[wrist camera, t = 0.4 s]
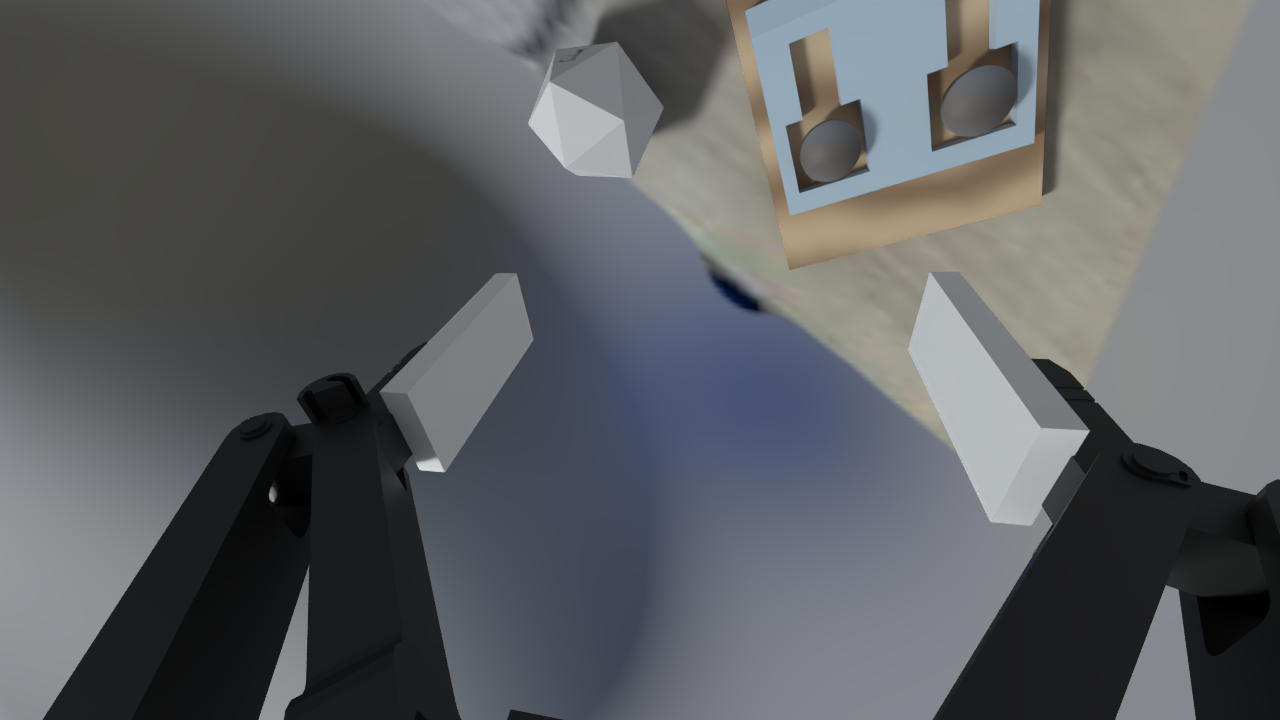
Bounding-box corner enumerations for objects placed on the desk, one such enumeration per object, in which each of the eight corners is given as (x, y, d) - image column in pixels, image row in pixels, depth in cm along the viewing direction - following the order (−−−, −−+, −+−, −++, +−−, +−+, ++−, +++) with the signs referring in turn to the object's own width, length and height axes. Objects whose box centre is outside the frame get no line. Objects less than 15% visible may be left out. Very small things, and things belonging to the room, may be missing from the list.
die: (688, 81, 36) (616, -5, 28) (665, 200, 37) (590, 154, 29) (598, 88, 40) (512, 15, 32) (580, 195, 41) (492, 153, 33)
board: (710, -69, 31) (706, -79, 28) (1051, -252, 24) (1090, -289, 21) (788, 264, 42) (791, 281, 39) (1033, 199, 36) (1057, 214, 33)
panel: (745, 12, 32) (744, 10, 29) (1035, -122, 26) (1073, -142, 23) (789, 211, 38) (792, 227, 35) (1027, 140, 33) (1055, 151, 30)
